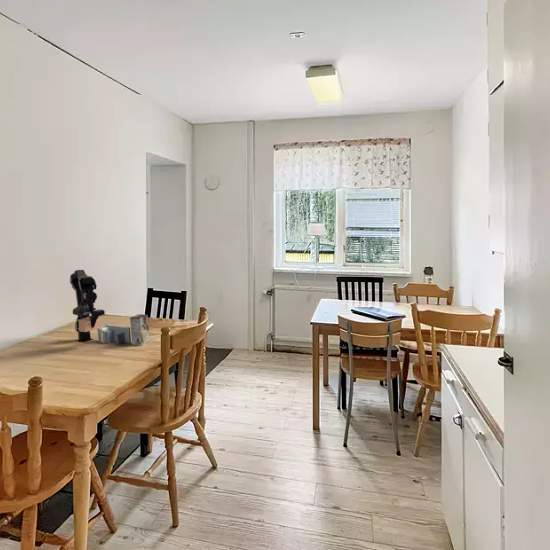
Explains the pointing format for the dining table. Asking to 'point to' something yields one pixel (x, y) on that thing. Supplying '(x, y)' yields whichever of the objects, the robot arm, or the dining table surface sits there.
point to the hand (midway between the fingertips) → (89, 327)
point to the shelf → (112, 333)
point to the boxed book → (87, 324)
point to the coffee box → (139, 329)
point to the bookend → (121, 339)
